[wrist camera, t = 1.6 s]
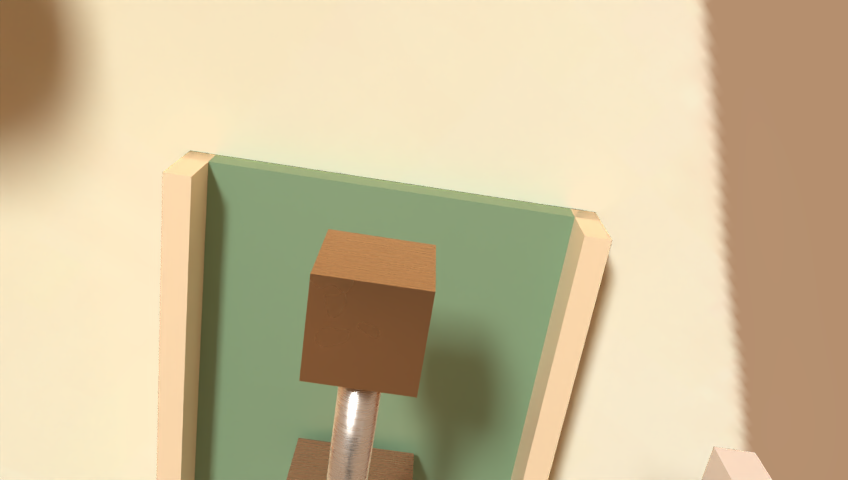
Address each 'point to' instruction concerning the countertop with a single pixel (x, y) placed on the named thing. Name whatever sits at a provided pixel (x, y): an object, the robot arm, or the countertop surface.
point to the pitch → (287, 304)
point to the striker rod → (364, 348)
